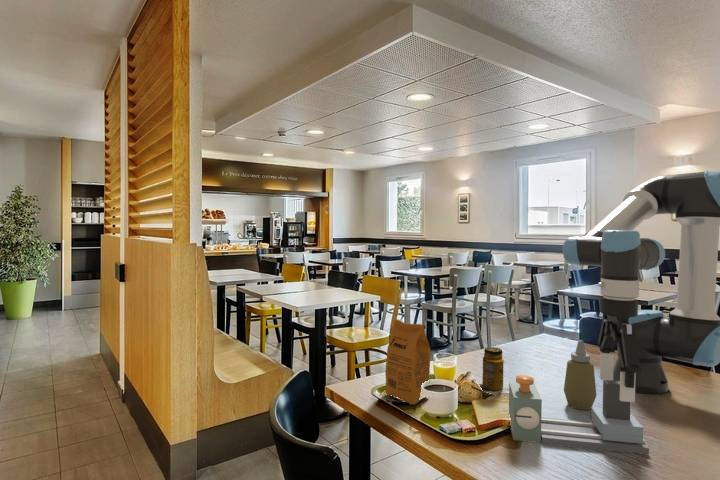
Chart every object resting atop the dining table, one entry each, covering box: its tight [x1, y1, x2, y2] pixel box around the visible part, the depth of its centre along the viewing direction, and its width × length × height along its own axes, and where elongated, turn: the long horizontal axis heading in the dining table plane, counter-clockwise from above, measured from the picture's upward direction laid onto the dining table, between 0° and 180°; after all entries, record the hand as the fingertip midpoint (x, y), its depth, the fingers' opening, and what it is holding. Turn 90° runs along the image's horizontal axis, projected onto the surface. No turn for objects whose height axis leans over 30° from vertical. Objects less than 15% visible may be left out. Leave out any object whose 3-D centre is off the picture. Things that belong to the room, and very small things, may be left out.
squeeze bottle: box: [563, 340, 597, 411], centre depth 120 cm, size 8×8×18 cm
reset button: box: [515, 374, 535, 393], centre depth 105 cm, size 4×4×3 cm
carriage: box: [590, 380, 644, 444], centre depth 101 cm, size 8×9×12 cm
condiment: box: [478, 346, 509, 395], centre depth 133 cm, size 7×8×12 cm
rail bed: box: [541, 416, 650, 455], centre depth 103 cm, size 22×11×2 cm, turn 77°
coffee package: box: [385, 318, 431, 406], centre depth 127 cm, size 10×12×22 cm
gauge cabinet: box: [508, 381, 543, 444], centre depth 105 cm, size 6×10×10 cm, turn 167°
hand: (616, 389), depth 101 cm, fingers open, 13 cm apart
